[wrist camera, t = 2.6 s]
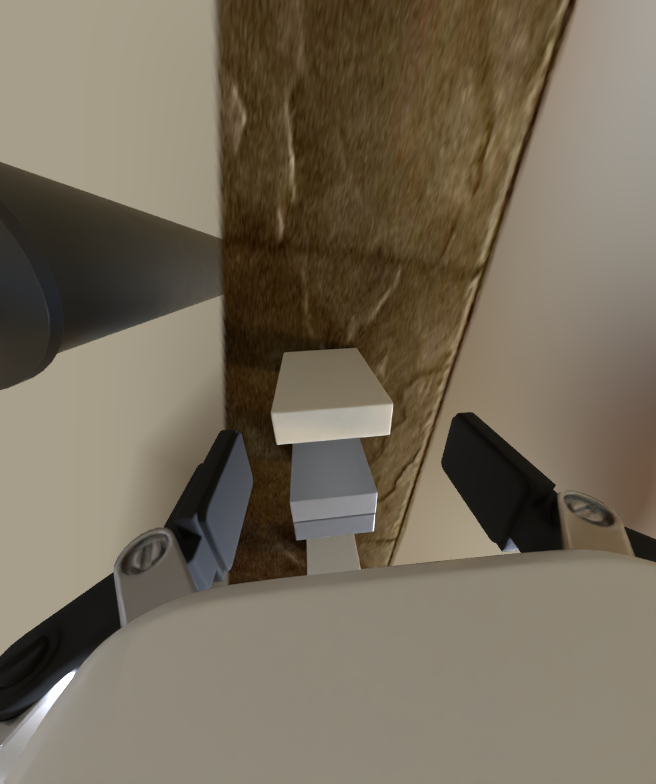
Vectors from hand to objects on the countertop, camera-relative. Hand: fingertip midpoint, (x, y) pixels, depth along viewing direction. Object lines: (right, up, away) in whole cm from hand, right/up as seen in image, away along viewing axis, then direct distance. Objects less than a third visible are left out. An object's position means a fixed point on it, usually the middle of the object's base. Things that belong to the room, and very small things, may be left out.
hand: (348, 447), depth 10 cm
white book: (-1, +5, +9) cm, 11 cm away
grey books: (-1, -3, +14) cm, 14 cm away
